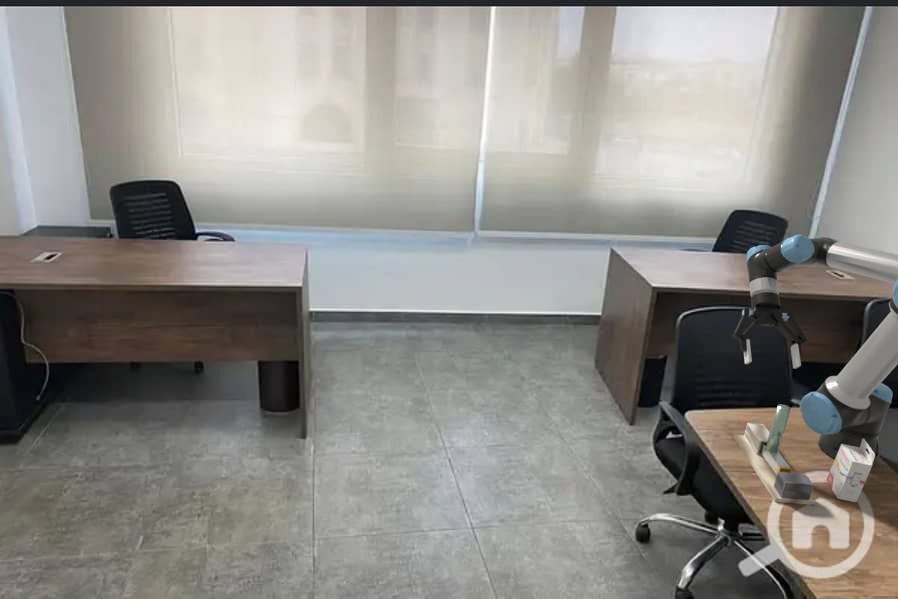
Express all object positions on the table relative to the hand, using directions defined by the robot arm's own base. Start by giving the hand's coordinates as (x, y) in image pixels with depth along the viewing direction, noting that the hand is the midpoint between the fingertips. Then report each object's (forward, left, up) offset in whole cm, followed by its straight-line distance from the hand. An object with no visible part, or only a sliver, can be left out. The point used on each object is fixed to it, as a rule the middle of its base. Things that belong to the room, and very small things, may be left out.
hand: (772, 365), depth 179 cm
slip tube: (0, +10, -23) cm, 25 cm away
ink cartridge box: (-15, +21, -25) cm, 36 cm away
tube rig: (0, +13, -25) cm, 28 cm away
